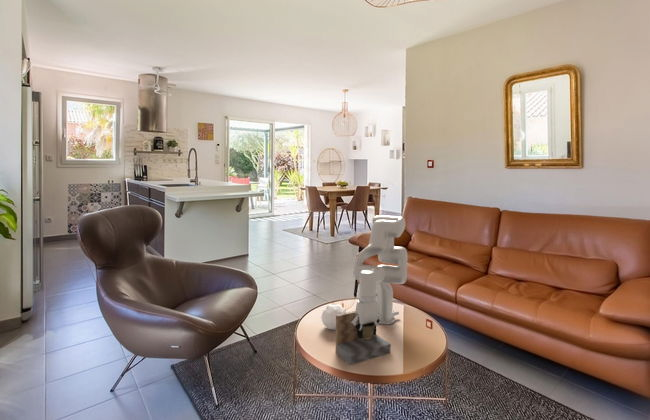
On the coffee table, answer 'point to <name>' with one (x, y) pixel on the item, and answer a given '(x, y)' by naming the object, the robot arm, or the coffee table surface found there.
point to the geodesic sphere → (331, 315)
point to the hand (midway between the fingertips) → (366, 335)
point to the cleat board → (356, 342)
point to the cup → (367, 330)
